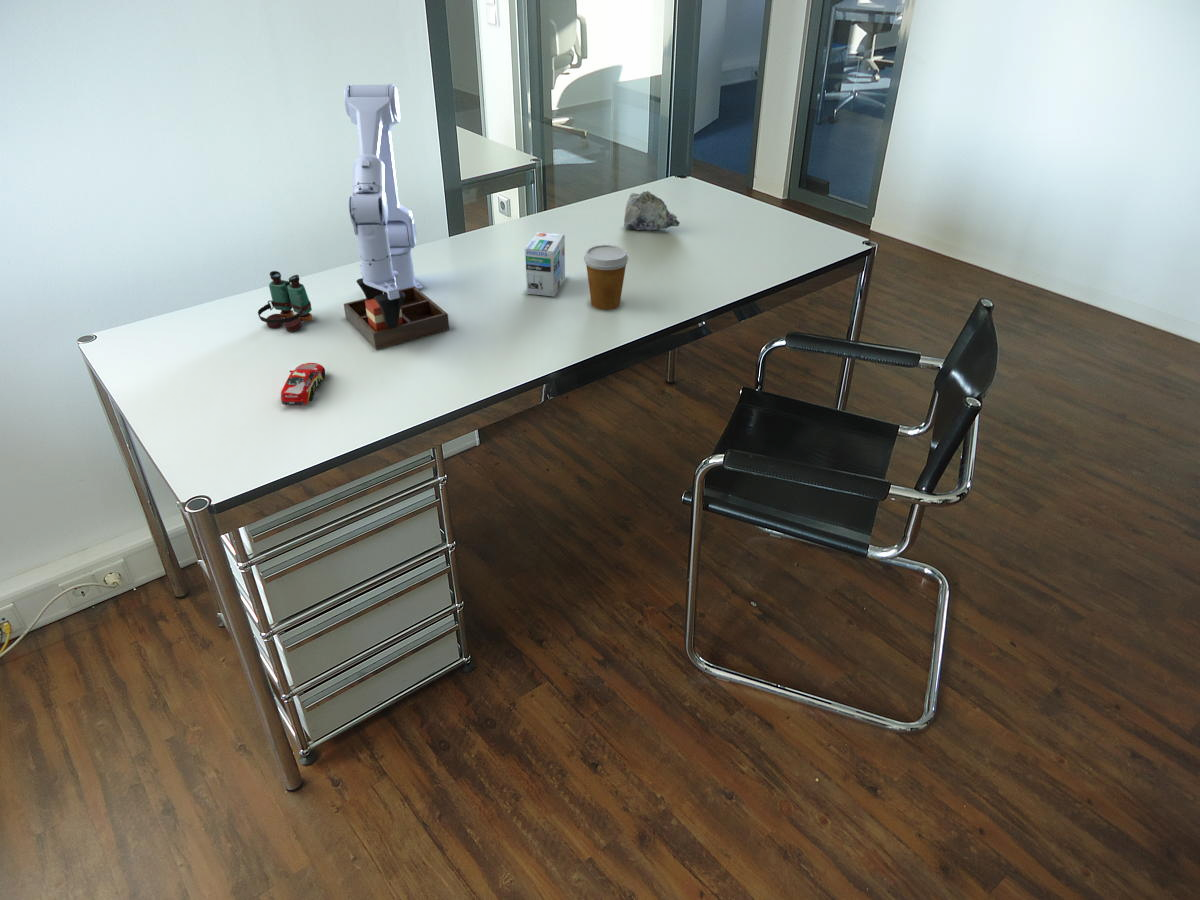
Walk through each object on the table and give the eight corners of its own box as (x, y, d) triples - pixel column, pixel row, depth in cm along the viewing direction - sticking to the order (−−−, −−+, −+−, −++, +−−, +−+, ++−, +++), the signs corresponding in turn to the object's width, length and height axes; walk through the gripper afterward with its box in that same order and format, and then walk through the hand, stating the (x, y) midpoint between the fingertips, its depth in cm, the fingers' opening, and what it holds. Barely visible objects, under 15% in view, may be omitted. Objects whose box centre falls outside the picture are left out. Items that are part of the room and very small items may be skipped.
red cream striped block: (369, 332, 175) (364, 300, 170) (395, 325, 177) (391, 293, 173) (378, 340, 172) (373, 309, 167) (404, 333, 174) (400, 302, 170)
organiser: (346, 319, 181) (343, 303, 179) (416, 301, 188) (414, 286, 186) (376, 350, 170) (373, 334, 168) (449, 329, 178) (447, 313, 175)
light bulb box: (554, 297, 191) (554, 251, 184) (525, 294, 192) (523, 248, 185) (566, 278, 199) (565, 233, 193) (538, 275, 200) (536, 231, 194)
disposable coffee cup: (633, 299, 190) (635, 248, 183) (616, 317, 183) (617, 264, 176) (595, 291, 193) (595, 240, 186) (576, 308, 186) (576, 256, 179)
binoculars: (242, 289, 170) (272, 265, 177) (257, 334, 176) (286, 309, 184) (280, 296, 167) (309, 271, 174) (294, 341, 174) (322, 316, 181)
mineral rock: (681, 231, 224) (684, 193, 218) (652, 242, 218) (654, 203, 212) (646, 218, 231) (648, 181, 226) (617, 227, 225) (618, 190, 220)
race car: (301, 371, 163) (297, 353, 161) (330, 372, 163) (326, 354, 161) (277, 408, 152) (272, 389, 150) (307, 409, 152) (303, 390, 150)
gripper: (410, 263, 162) (418, 327, 170) (380, 238, 171) (389, 300, 179) (375, 271, 158) (385, 337, 166) (346, 246, 168) (356, 309, 176)
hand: (384, 319), depth 173 cm, fingers open, 7 cm apart
